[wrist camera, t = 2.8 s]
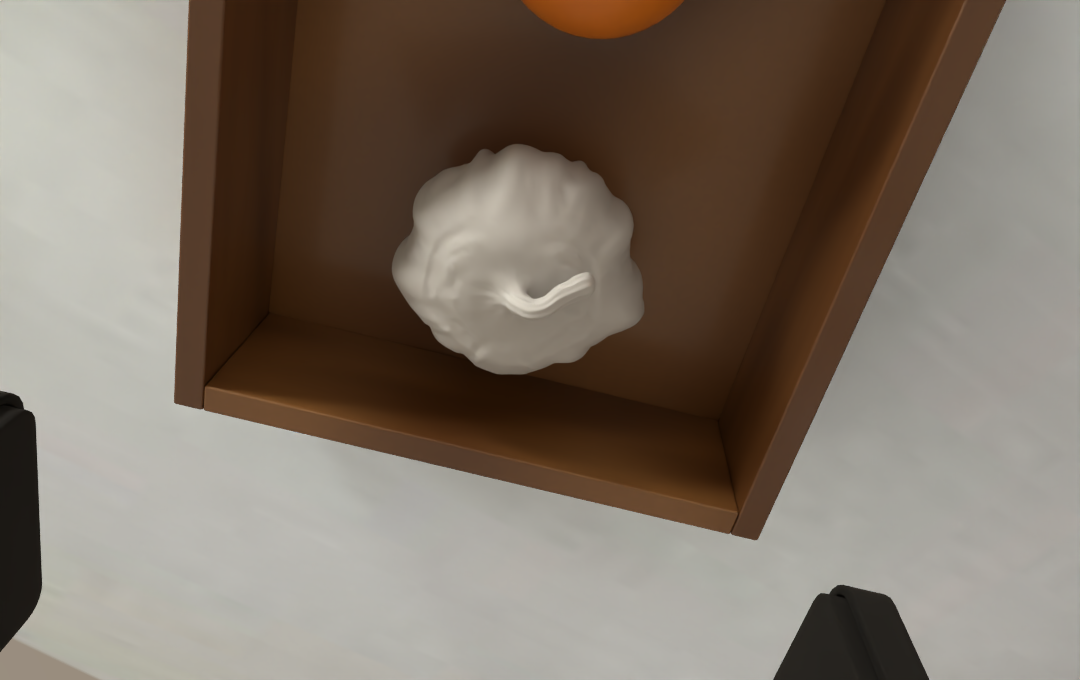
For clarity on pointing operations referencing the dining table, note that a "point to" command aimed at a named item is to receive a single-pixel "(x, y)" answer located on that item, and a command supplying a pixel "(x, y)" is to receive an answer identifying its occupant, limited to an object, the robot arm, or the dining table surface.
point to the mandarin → (602, 15)
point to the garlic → (520, 260)
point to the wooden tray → (628, 172)
